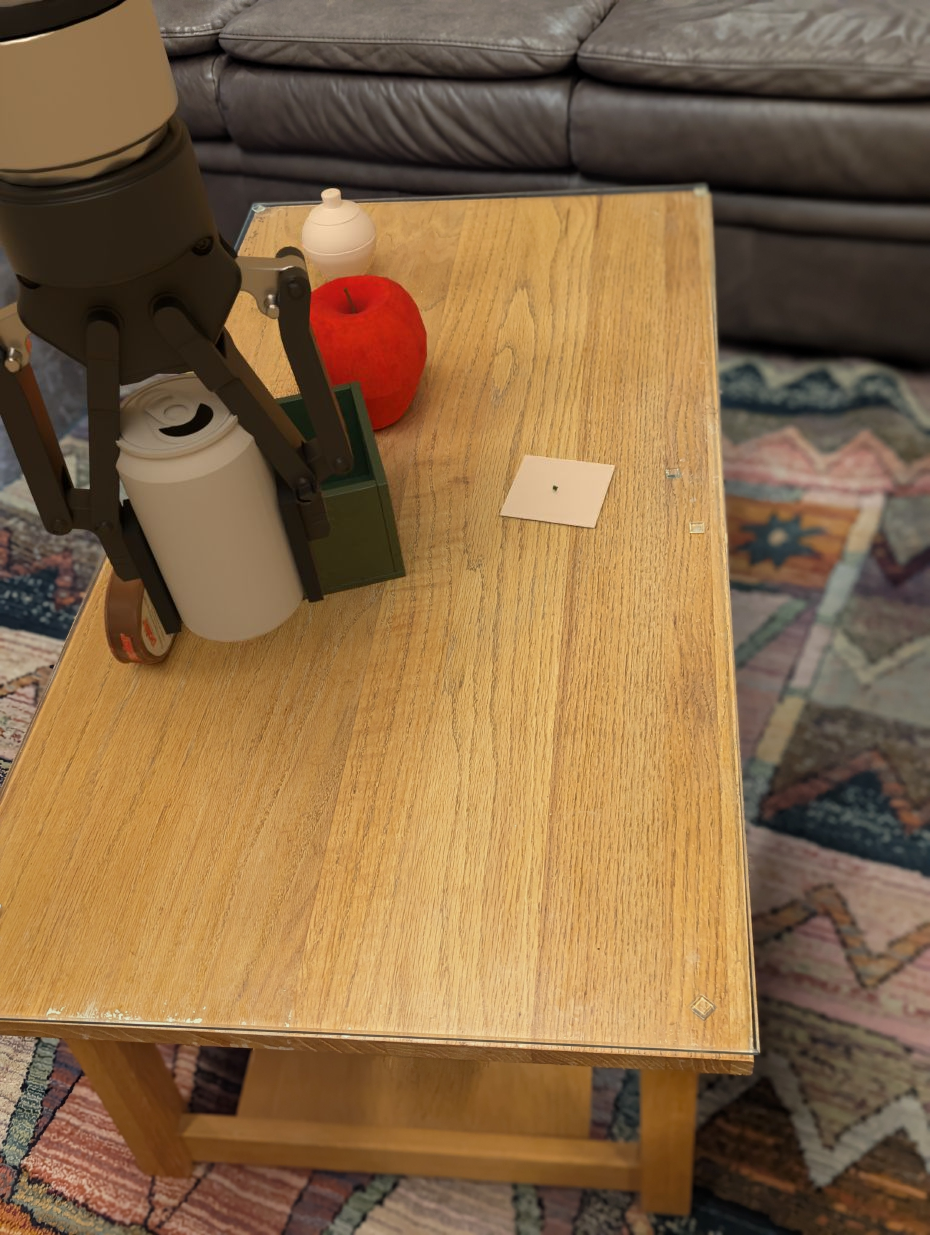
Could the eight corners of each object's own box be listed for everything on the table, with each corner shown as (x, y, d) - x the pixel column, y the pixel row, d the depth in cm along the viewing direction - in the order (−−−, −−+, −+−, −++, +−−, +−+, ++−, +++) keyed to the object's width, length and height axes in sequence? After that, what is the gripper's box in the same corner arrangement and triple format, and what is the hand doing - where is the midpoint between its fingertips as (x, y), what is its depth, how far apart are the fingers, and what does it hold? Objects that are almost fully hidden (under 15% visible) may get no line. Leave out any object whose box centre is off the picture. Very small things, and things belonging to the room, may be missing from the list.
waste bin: (236, 615, 84) (202, 524, 77) (224, 506, 94) (193, 416, 87) (406, 576, 85) (387, 482, 78) (377, 471, 95) (358, 380, 88)
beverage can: (235, 673, 51) (157, 478, 42) (157, 612, 54) (70, 419, 46) (334, 596, 54) (280, 398, 45) (255, 543, 57) (190, 349, 49)
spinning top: (397, 306, 113) (379, 196, 104) (328, 328, 111) (304, 218, 103) (373, 274, 118) (354, 166, 109) (307, 294, 116) (282, 186, 108)
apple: (393, 363, 106) (370, 236, 96) (463, 416, 99) (447, 284, 89) (289, 414, 102) (255, 287, 92) (355, 473, 95) (326, 342, 85)
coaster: (615, 465, 92) (615, 458, 91) (594, 528, 87) (594, 520, 86) (524, 454, 94) (524, 447, 93) (499, 515, 89) (498, 507, 88)
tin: (180, 547, 90) (149, 469, 84) (216, 547, 90) (188, 468, 84) (124, 687, 80) (84, 610, 74) (165, 688, 80) (128, 610, 74)
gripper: (338, 47, 40) (419, 509, 57) (-188, 145, 39) (54, 589, 56) (367, 126, 35) (447, 608, 52) (-237, 242, 34) (45, 698, 51)
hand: (243, 597), depth 54 cm, fingers closed on beverage can, 6 cm apart
